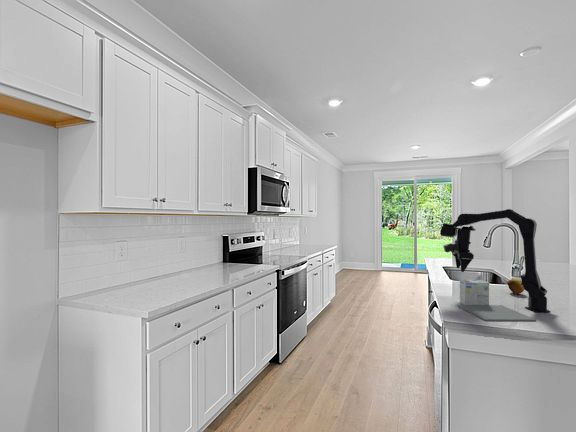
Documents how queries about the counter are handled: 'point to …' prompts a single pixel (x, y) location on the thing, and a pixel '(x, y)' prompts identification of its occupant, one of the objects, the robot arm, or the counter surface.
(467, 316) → the counter surface
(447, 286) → the counter surface
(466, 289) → the light bulb box
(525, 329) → the counter surface
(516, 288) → the fruit
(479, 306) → the slate mat
